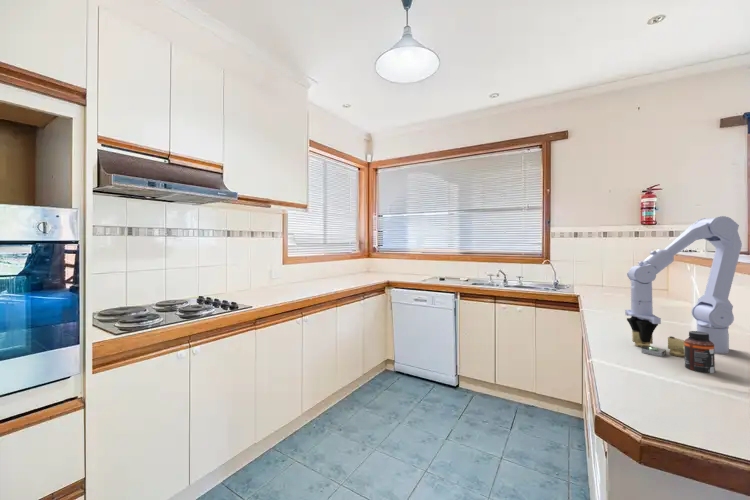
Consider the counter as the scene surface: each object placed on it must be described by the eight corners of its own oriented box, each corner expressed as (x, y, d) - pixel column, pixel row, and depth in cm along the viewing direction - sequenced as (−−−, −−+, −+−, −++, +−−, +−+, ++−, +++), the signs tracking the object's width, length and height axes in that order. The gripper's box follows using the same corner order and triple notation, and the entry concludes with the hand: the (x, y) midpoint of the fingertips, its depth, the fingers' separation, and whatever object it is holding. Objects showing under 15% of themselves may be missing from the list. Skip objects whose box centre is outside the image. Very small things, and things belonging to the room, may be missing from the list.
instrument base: (634, 346, 118) (634, 337, 118) (696, 357, 105) (696, 348, 105) (620, 352, 111) (620, 343, 111) (685, 365, 98) (684, 355, 98)
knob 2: (692, 357, 102) (692, 340, 102) (679, 357, 101) (679, 341, 101) (676, 352, 107) (676, 336, 107) (664, 352, 107) (664, 336, 107)
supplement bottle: (721, 378, 89) (720, 335, 89) (695, 376, 90) (694, 334, 90) (704, 370, 94) (703, 330, 94) (679, 369, 96) (678, 329, 96)
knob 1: (650, 345, 115) (650, 330, 115) (653, 348, 111) (653, 333, 111) (631, 343, 117) (631, 328, 117) (634, 346, 113) (634, 331, 113)
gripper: (615, 297, 122) (616, 335, 122) (643, 304, 107) (644, 346, 107) (636, 297, 121) (637, 335, 121) (667, 304, 107) (668, 346, 107)
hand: (642, 340), depth 114 cm, fingers closed on knob 1, 3 cm apart
